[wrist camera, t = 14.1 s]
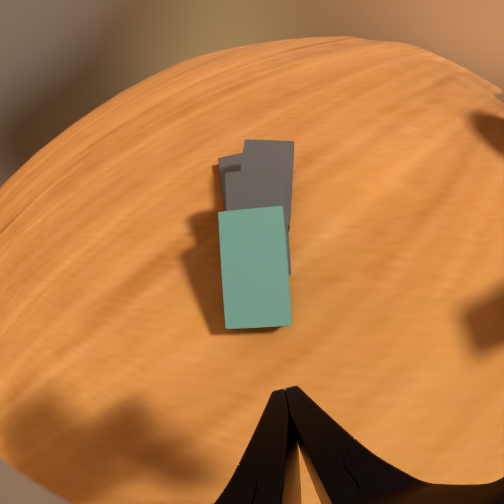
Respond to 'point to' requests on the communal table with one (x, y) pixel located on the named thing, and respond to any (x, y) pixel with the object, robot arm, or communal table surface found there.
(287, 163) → the domino
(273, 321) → the domino
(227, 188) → the domino
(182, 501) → the communal table surface
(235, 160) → the domino end
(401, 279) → the communal table surface
